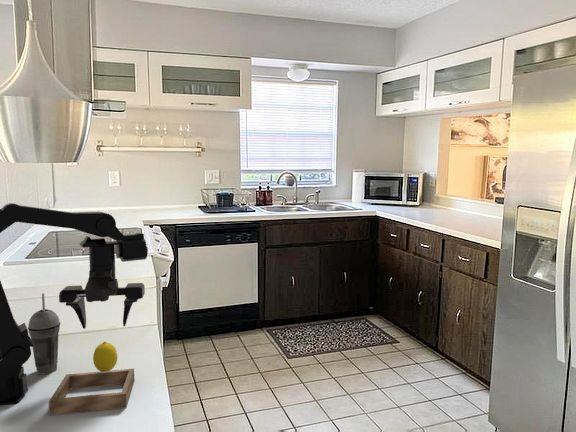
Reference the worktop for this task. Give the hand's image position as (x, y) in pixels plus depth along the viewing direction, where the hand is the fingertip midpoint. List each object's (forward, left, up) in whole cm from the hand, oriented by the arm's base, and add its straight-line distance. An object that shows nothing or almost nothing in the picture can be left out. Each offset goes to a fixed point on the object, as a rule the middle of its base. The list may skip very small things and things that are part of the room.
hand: (104, 327), depth 113 cm
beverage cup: (-15, +6, -12) cm, 20 cm away
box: (0, -12, -12) cm, 17 cm away
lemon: (0, +1, -12) cm, 12 cm away
